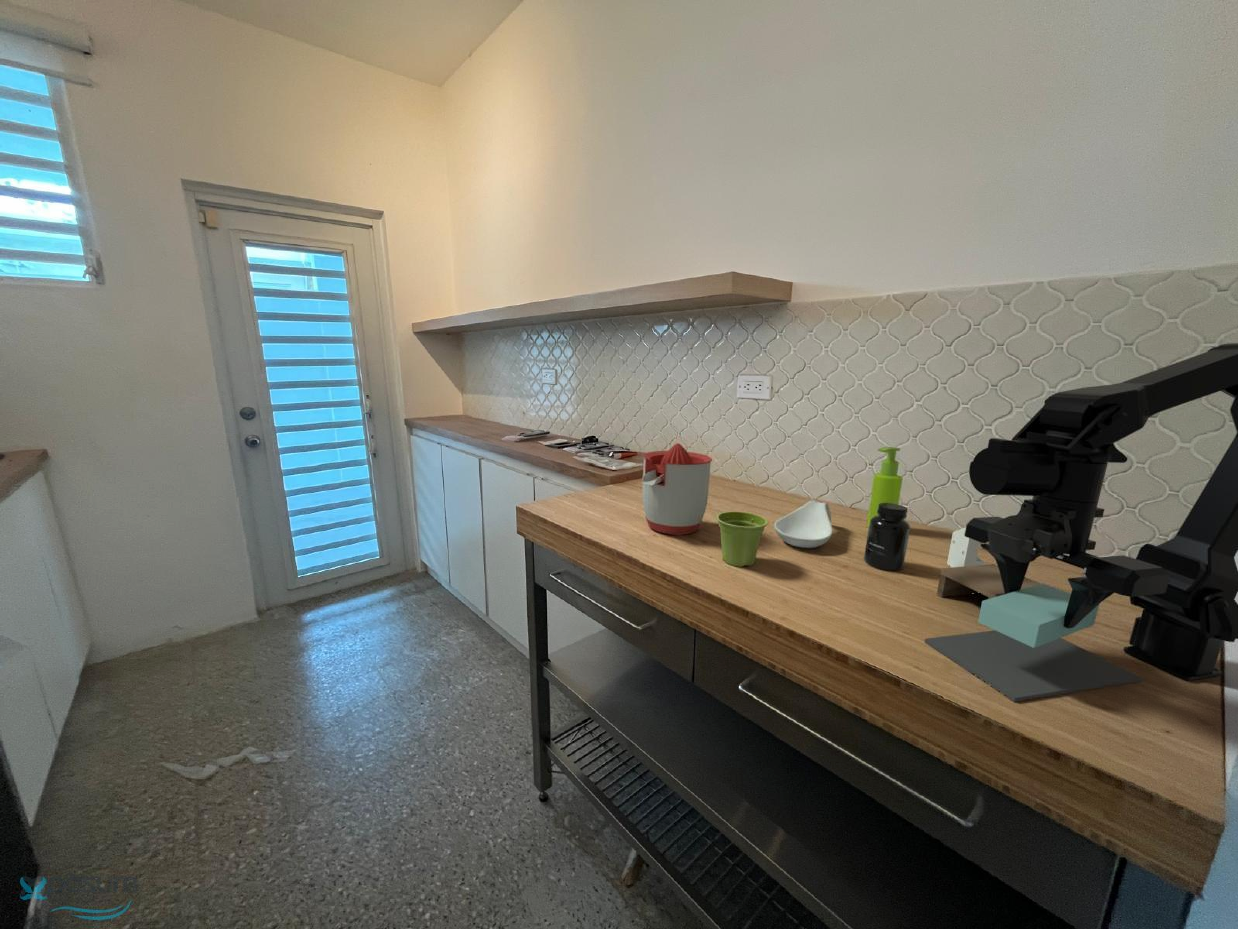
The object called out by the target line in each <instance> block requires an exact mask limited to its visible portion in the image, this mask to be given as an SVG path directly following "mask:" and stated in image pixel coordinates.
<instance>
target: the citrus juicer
mask: <svg viewBox="0 0 1238 929" xmlns="http://www.w3.org/2000/svg"><path fill="white" fill-rule="evenodd" d="M642 458H643V473H642V478H641V482H642V506H643V510H644V514H645V519H646V522H647V524H648V527H649V528H650V529H652V530H654V531H655V532H658V533H663V534H669V535H672V536H679V535H688V534H692V533H695V532H697V531H698V530H699V528H700V526H701V525H702V521H703V518H704V515H705V513H706V510H707V506H708V499H709V487H710V475H711V474H710V473H711V463H712V461H713V459H712V457H710V456H709V455H707V454H702V453H697V452H690V451H687V450H686V449H685V447H683V445H682V444H680V443H676V444H675V443H674V445H673V446H671V447H670V449H669V450H656V451H648V452H645V453H643V455H642Z"/></svg>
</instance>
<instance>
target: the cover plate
mask: <svg viewBox="0 0 1238 929" xmlns="http://www.w3.org/2000/svg"><path fill="white" fill-rule="evenodd" d="M1070 596H1071V593H1070V592H1068V591H1065V590H1062V589H1059V588H1056V587H1054V586H1051V585H1048V584H1045V583H1040V584H1039V585H1035V586H1032V587H1029V588H1025V589H1022V590H1018V591H1015V592H1011V593H1008V594H1004V595H1001V596H997V597H994V598H991V599H988V598H987V599H984V600H982V601H981V606H980V611H979V614H978V620H977V623H979V624H980V625H983V626H985V627H988V628H989V629H992V630H993V631H994V630H996V631H998V632H1000V633H1002V634H1005V635H1007V636H1009V637H1011V638H1013V639H1015V640H1018V641H1020V642H1022V643H1024V644H1026V645H1029V646H1031V647H1033V648H1035V647H1038V646H1040V645H1043V644H1046V643H1048V642H1051V641H1053V640H1056V639H1059V638H1064V637H1066V636H1069V635H1072V634H1073V633H1074V634H1075V633H1076V632H1079V631H1082V630H1084V629H1087V628H1089V627H1092V626H1094V625H1095V622H1096V619H1097V614H1098V611H1099V607H1100V604H1099V605H1097V606H1096V607H1095V608H1094V609H1093V610H1092V611H1091V612H1090V613H1089V614H1088V615H1087V616H1085V617H1084V618H1083V619H1082V620H1081V621H1080V622H1079V623H1078V624H1077V625H1076V626H1075V627H1073V628H1065V627H1064V617H1065V613H1066V610H1067V606H1068V603H1069V599H1070Z"/></svg>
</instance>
